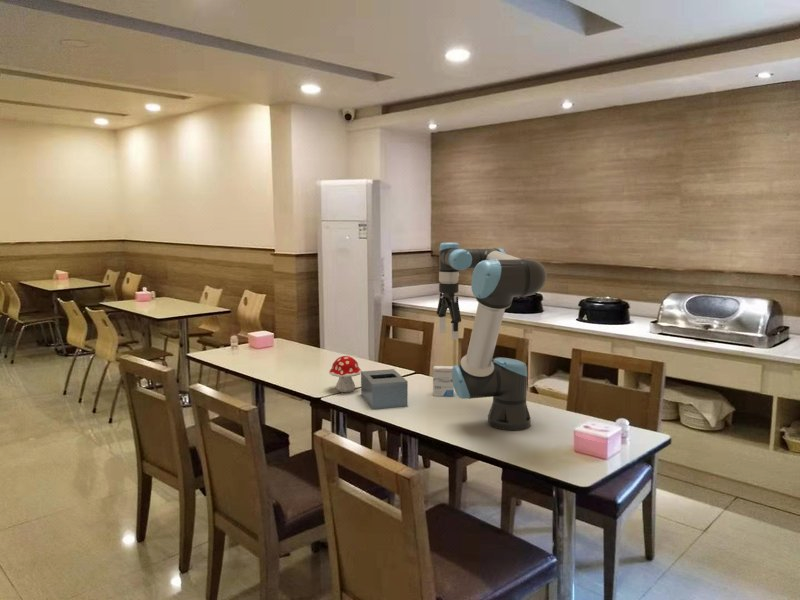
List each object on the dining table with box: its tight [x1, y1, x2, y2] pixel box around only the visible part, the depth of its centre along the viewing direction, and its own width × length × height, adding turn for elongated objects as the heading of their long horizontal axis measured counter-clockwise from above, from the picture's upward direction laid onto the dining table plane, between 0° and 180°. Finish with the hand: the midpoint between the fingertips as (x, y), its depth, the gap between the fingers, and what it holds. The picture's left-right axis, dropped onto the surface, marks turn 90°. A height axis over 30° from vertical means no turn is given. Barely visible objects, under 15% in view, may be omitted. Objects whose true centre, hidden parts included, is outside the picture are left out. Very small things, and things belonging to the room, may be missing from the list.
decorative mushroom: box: [328, 355, 362, 393], centre depth 251 cm, size 14×14×15 cm
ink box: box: [432, 365, 455, 397], centre depth 246 cm, size 8×5×12 cm, turn 84°
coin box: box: [360, 368, 409, 410], centre depth 238 cm, size 20×14×10 cm
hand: (448, 336), depth 233 cm, fingers open, 13 cm apart
